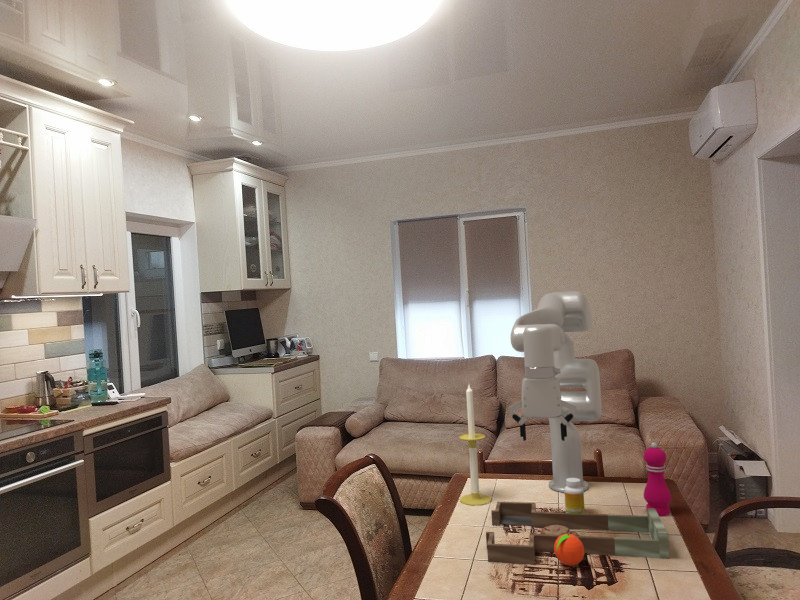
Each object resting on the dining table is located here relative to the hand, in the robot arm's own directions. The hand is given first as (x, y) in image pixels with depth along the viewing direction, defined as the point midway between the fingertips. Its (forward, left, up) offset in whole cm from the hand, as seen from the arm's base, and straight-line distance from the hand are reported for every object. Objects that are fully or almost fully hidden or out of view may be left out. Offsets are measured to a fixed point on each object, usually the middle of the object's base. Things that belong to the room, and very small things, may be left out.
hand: (543, 439), depth 146 cm
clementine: (+12, +4, -27) cm, 30 cm away
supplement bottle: (-21, +7, -27) cm, 35 cm away
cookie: (-2, +2, -27) cm, 27 cm away
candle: (-29, -23, -27) cm, 46 cm away
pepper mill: (-24, +30, -27) cm, 47 cm away
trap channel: (-2, +6, -27) cm, 27 cm away
